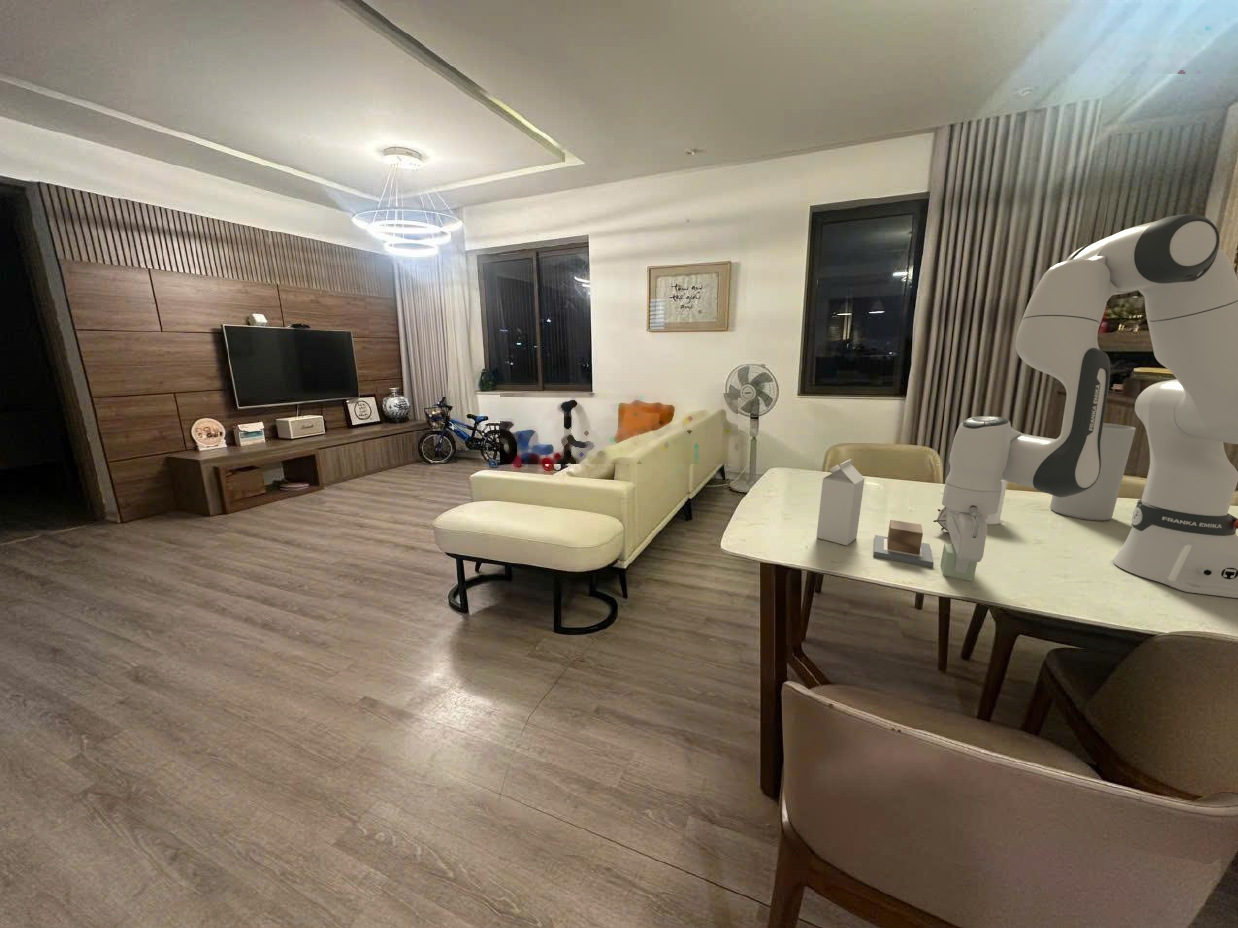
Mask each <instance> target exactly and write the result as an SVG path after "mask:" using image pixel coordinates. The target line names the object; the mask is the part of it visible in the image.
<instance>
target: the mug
mask: <svg viewBox="0 0 1238 928" xmlns="http://www.w3.org/2000/svg"><path fill="white" fill-rule="evenodd" d="M1001 483H1002V491H1001V496H1000V500H999V506H998V510H997V513H996V514H993V515H988V518H987V520H985V522H986V524H987V525H991V526H992V525H994V526H995V525H998V524H999V525H1000V523H1001V515H1002V510H1003V505H1004V501H1005V496H1006V491H1007V486H1008V481H1005V480H1001Z"/></svg>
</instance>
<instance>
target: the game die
mask: <svg viewBox="0 0 1238 928" xmlns="http://www.w3.org/2000/svg"><path fill="white" fill-rule="evenodd" d="M946 511H947V507H945V506H944V507H943V508H942V509H939V508H938V509H937V512H939V514H938V516H937V519H934V520H933V521H932V522H934V523H938V524H939V526H941V528H940V529H941V530H940V531H946V532H947V533H949V531H948V529H947V526H946Z"/></svg>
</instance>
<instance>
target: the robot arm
mask: <svg viewBox="0 0 1238 928" xmlns="http://www.w3.org/2000/svg"><path fill="white" fill-rule="evenodd" d="M1220 240H1221V239H1220V234H1219V230H1218V228H1217V226H1216V225H1215V224H1214V223H1213V222H1212V221H1211V220H1210V219H1209V218H1207V217H1206V216H1204V215H1201V214H1197V213H1187V214H1186V213H1184V214H1177V215H1171V216H1167V217H1163V218H1161V219H1159V220H1158V219H1157V220H1156V221H1151V222H1148V223H1143V224H1140V225H1135V226H1133V227H1130V228H1126V229H1124V230H1123V229H1122V230H1121V231H1119V232H1117V233H1115V234H1113V235H1110V236H1109V235H1108V236H1107V237H1104V238H1103V239H1100V240H1098V241H1093V242H1090V243H1087V244H1086V245H1084V246H1082V247H1080V248H1079V249H1076V250H1075V251H1074V252H1073V253H1072V254H1070V255H1069V256H1068V257H1067V258H1066V259H1065V260H1064V261H1062V262H1059V263H1056V264H1055V265H1053V266H1051V267H1050V268H1048V269H1047V270H1046V272H1044V274H1043V275H1042V277H1041V279H1040V280H1039V282H1038V283H1037V285H1036V287H1035V289H1034V291H1033V293H1032V294H1031V297H1030V298H1029V302H1028V303H1027V306H1026V309H1025V311H1024V314H1023V316H1022V319H1021V321H1020V325H1019V328H1018V329H1017V332H1016V333H1017V334H1016V337H1015V338H1016V339H1015V350H1016V353H1017V354H1018V357H1019V358H1020V359H1021V360H1022V361H1023V362H1024V363H1025V364H1026V365H1028V366H1029V367H1030V368H1033V369H1034V370H1036V371H1037V370H1038V371H1040V372H1042V373H1044V374H1046V375H1049V376H1051V377H1053V378H1054V379H1057V380H1058V381H1059V382H1061V384H1062V385H1063V387H1064V389H1065V392H1066V399H1065V405H1064V410H1063V415H1062V416H1063V419H1062V425H1061V430H1060V434H1059V436H1058V437H1056V438H1052V437H1051V438H1049V437H1044V436H1043V437H1042V436H1038V435H1031V434H1027V433H1022V432H1021V431H1018V430H1016V429H1014V428H1013V427H1012V426H1011V421H1010V420H1009V419H1007V418H1005V417H1002V416H994V415H986V416H983V415H982V416H980V415H979V416H973V417H969V418H967V419H964V420H962V421H961V422H960V424H959V425H958V427H957V429H956V432H955V435H954V438H953V440H952V446H951V451H950V454H949V466H950V467H949V473H948V475H947V476H946V479H945V483H944V488H943V493H942V500H941V505H942V506H944V507H947V511H946V526H947V529H948V531H949V532H948V534H949V537H950V539H951V545H954V548H955V551H956V554H957V560H956V562H955V570H956V571H957V572H962V573H965V572H966V571H967V567H968V564H969V562H970V561H973V562H977V563H980V562H981V561H982V559H983V558H984V557H983V556H984V553H985V551H984V550H985V546H986V539H987V530H988V529H987V528H988V526H987V525H988V524H986V522H985V520H987V518H988V515H993V514H996V513H997V510H998V506H999V500H1000V496H1001V491H1002V483H1001V480H1005V481H1007V483H1011V484H1015V485H1019V486H1024V487H1027V488H1031V489H1033V490H1034V489H1035V490H1037V491H1040V492H1041V493H1045V494H1048V495H1051V496H1053V495H1054V496H1057V497H1068V496H1072V495H1075V494H1078V493H1081V492H1083V491H1085V490H1087V489H1089V488H1090V487H1092V486H1093V485H1094V484H1095V482H1096V481H1097V479H1098V477H1099V474H1100V469H1101V454H1100V442H1101V435H1102V428H1103V423H1105V422H1104V420H1105V414H1106V408H1107V403H1108V402H1107V401H1108V395H1109V388H1110V387H1109V386H1110V379H1111V360H1110V357H1109V355H1108V354H1107V353H1106V352H1105V351H1102V350H1101V348H1100V346H1099V341H1098V333H1099V328H1100V325H1101V322H1102V320H1103V317H1104V314H1105V310H1106V307H1107V302H1108V301H1109V299H1110V298H1111V297H1112V296H1116V295H1122V294H1123V295H1124V294H1129V293H1133V292H1136V291H1138V292H1139V293H1140V294H1141V295H1142V296H1143V297H1144V307H1145V315H1146V321H1147V326H1148V332H1149V335H1150V340H1151V346H1152V349H1153V355H1154V357H1155V360H1156V361H1157V362H1158V363H1159V364H1160V365H1161V366H1163V367H1165V368H1166V369H1168V371H1170V373H1171V374H1172V375H1174V377H1175V379H1170V380H1163V381H1159V382H1155V383H1153V384H1151V385H1149V386H1148V387H1146V388H1145V389H1143V391H1141V393H1140V394H1139V395H1138V396H1137V398H1136V400H1135V403H1134V412H1135V414H1136V416H1137V418H1138V419H1139V420H1140V421H1141V423H1142V424H1143V426H1144V428H1145V432H1146V436H1147V441H1148V448H1149V449H1148V450H1149V466H1148V473H1147V477H1146V480H1145V484H1144V488H1143V493H1142V496H1141V498H1140V499H1137V503H1136V506H1135V508H1134V510H1133V512H1132V518H1131V529H1130V531H1129V533H1128V536H1127V537H1126V539H1125V541H1124V543H1123V545H1122V546H1121V548H1120V550H1119V551H1118V552H1117V554H1116V555H1115V556H1114V557H1113V558H1112V562H1113V564H1114V565H1116V566H1117V567H1119V568H1120V569H1123V570H1124V571H1126V572H1129V573H1131V574H1134V575H1136V576H1139V577H1142V578H1145V579H1148V580H1151V581H1154V582H1157V583H1161V584H1164V585H1166V586H1169V587H1171V588H1173V589H1176V590H1179V591H1182V592H1186V593H1193V594H1200V595H1210V596H1215V597H1216V596H1219V597H1226V598H1234V599H1238V535H1237V532H1236V531H1237V530H1238V517H1235V516H1234V515H1232V514H1230V513H1229V510H1230V507H1231V505H1232V502H1233V497H1234V493H1235V492H1236V488H1237V485H1238V470H1237V469H1236V467H1235V466H1234V464H1232V463H1231V462H1230V460H1229V459H1228V456H1227V454H1226V451H1225V444H1224V443H1227V444H1233V445H1238V277H1237V274H1236V272H1235V268H1234V267H1233V265H1232V263H1231V260H1230V258H1229V256H1228V255H1227V253H1226V252H1225V251H1224V249H1222V248H1220V244H1221V243H1220V242H1221V241H1220Z"/></svg>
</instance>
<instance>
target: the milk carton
mask: <svg viewBox="0 0 1238 928" xmlns="http://www.w3.org/2000/svg"><path fill="white" fill-rule="evenodd" d="M851 463H852V459H847V460H846V461H844V462H841V463H840V464H836V465H834V466H832V467H831V468H829V471H830V472H831V473H830V474H828V475H826V476H825V477H823V478H822V482H821V483H822V485H821V493H820V494H821V495H820V503H819V510H818V511H819V512H818V521H817V529H816V538H817V539H820V540H824V541H827V542H832V543H834V544H840V545H844V546H849V545H850V544H851V543H853V541H854V540H855V539H857V538H858V530H859V521H860V515H861V506H862V502H863V501H862V499H863V491H864V485H865V477H864V476H863V475H862V474H861V473H860V472H859V471H858V470H857V469H856V467H855V466H854V465H852V464H851Z"/></svg>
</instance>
